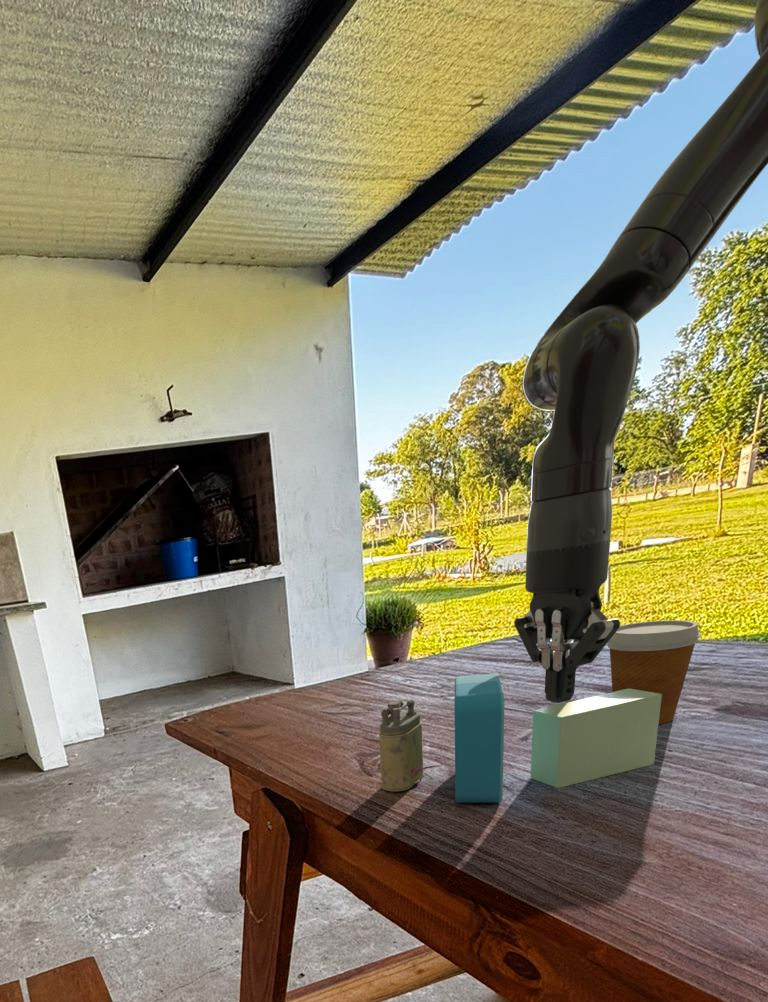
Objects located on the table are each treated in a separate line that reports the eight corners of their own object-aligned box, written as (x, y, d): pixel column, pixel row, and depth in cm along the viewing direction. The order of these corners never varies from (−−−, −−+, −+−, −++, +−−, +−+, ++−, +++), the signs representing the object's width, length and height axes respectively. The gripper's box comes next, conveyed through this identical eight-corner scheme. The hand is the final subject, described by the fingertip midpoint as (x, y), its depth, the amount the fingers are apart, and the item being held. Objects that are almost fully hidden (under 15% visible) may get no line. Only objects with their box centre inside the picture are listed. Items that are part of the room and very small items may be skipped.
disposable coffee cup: (582, 719, 85) (588, 631, 81) (642, 705, 86) (651, 617, 82) (643, 734, 76) (654, 637, 72) (710, 718, 77) (724, 621, 73)
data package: (455, 769, 76) (454, 674, 72) (496, 768, 74) (498, 670, 70) (455, 807, 66) (454, 699, 62) (502, 807, 64) (505, 696, 60)
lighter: (401, 771, 79) (398, 695, 75) (431, 773, 76) (429, 695, 73) (376, 790, 74) (371, 711, 71) (407, 794, 72) (403, 712, 68)
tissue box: (621, 755, 72) (627, 687, 69) (654, 764, 68) (662, 693, 65) (529, 777, 70) (531, 710, 67) (557, 788, 66) (561, 717, 64)
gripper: (655, 530, 59) (637, 704, 65) (551, 540, 72) (544, 685, 78) (586, 543, 59) (574, 718, 65) (493, 551, 71) (491, 697, 77)
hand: (558, 700), depth 71 cm, fingers closed
